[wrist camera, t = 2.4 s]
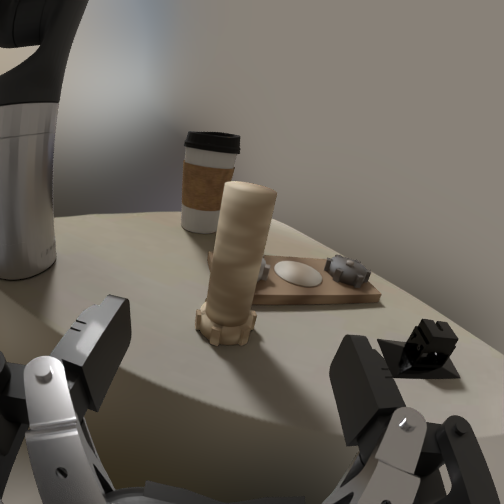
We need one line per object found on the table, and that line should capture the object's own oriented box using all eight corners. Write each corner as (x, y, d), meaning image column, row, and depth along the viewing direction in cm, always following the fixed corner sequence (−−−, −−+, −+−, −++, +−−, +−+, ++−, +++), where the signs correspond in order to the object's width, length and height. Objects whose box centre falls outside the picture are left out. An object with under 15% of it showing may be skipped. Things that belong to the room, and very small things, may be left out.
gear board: (218, 303, 27) (223, 273, 25) (207, 260, 35) (211, 235, 33) (378, 302, 33) (387, 279, 32) (343, 267, 41) (350, 247, 39)
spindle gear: (198, 346, 21) (219, 191, 16) (193, 310, 25) (210, 176, 20) (259, 345, 22) (297, 202, 18) (246, 311, 27) (274, 185, 22)
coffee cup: (236, 232, 45) (255, 138, 39) (194, 240, 39) (210, 131, 33) (204, 215, 50) (218, 131, 44) (163, 221, 44) (175, 126, 38)
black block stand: (446, 346, 27) (464, 315, 25) (470, 388, 20) (494, 355, 18) (361, 336, 27) (378, 300, 25) (377, 389, 20) (403, 350, 18)
